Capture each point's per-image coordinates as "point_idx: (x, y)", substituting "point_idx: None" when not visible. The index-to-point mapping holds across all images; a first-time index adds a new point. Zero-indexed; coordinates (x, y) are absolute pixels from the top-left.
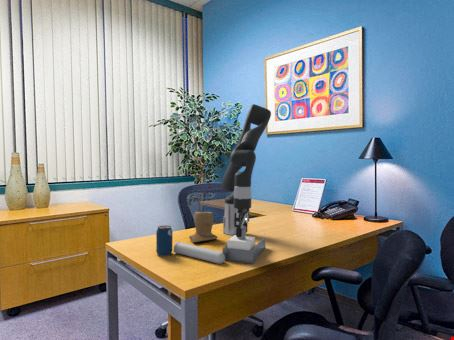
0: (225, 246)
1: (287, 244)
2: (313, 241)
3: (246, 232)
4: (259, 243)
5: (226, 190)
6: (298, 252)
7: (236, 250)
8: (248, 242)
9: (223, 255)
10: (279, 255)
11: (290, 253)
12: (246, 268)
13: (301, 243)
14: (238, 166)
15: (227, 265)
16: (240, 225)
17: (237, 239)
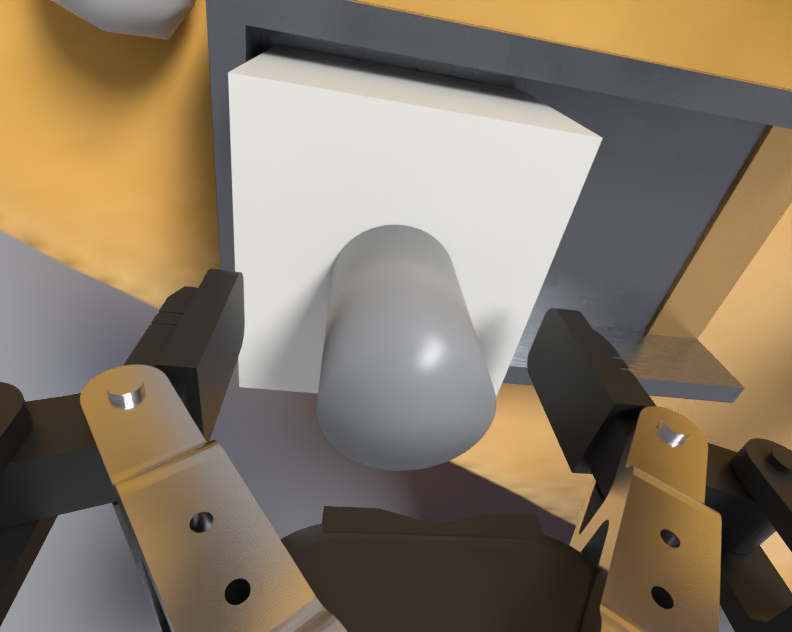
0: (317, 7)
1: (738, 450)
2: (766, 541)
3: (528, 361)
4: (523, 379)
5: None
6: (560, 496)
7: (217, 198)
8: (239, 375)
9: (92, 23)
10: (493, 425)
11: (539, 468)
12: (132, 263)
13: None
14: None
15: (108, 81)
16: (15, 530)
17: (329, 235)
